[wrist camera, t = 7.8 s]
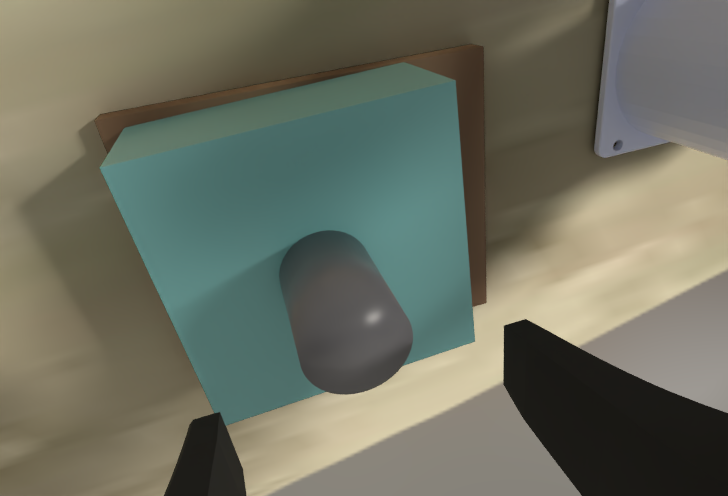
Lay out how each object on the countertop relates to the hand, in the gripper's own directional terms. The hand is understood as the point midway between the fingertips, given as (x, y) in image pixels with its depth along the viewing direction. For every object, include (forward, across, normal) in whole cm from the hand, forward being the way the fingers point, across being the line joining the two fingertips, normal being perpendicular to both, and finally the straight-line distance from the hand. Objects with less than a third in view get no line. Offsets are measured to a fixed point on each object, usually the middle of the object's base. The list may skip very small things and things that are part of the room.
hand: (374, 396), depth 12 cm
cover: (+9, 0, -1) cm, 9 cm away
